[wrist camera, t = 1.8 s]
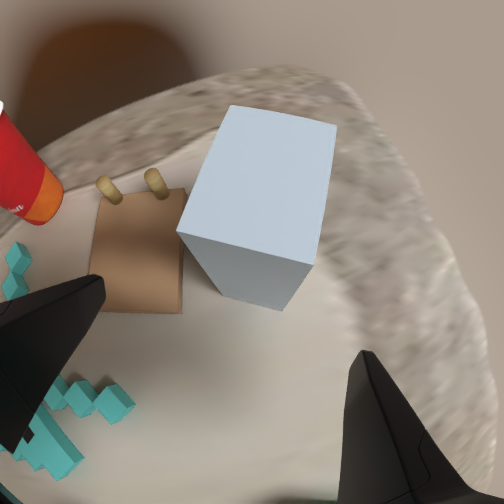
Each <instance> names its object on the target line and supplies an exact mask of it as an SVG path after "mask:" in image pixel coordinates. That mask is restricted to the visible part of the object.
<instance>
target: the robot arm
mask: <svg viewBox="0 0 504 504" xmlns="http://www.w3.org/2000/svg"><path fill="white" fill-rule="evenodd" d="M105 300H106V289H105V283H104V279H103V277H102V276H99V275H97V274H90V275H87V276H84V277H80V278H77V279H74V280H71V281H68V282H64V283H61V284H58V285H55V286H52V287H49V288H45V289H42V290H39V291H36V292H33V293H30V294H27V295H24V296H21V297H18V298H15V299H13V300H9V301H6V302H3V303H0V444H1V445H2V446H3V447H4V448H5V449H6V450H8V451H9V452H10V453H11V454H14V452H15V450H16V448H17V446H18V444H19V443H20V441H21V439H22V437H23V435H24V433H25V431H26V429H27V427H28V426H29V424H30V422H31V420H32V418H33V417H34V414H35V413H36V411H37V409H38V408H39V406H40V404H41V403H42V401H43V399H44V397H45V396H46V394H47V392H48V391H49V389H50V388H51V386H52V384H53V383H54V381H55V380H56V378H57V376H58V375H59V373H60V372H61V370H62V369H63V367H64V366H65V364H66V363H67V361H68V360H69V358H70V357H71V355H72V354H73V352H74V351H75V349H76V348H77V346H78V345H79V343H80V342H81V340H82V339H83V338H84V336H85V335H86V333H87V331H88V330H89V328H90V326H91V325H92V323H93V321H94V319H95V318H96V316H97V314H98V312H99V311H100V309H101V307H102V306H103V304H104V302H105ZM0 504H23V503H22V502H20V501H19V500H18V499H17V498H16V497H15V496H14V495H13V494H12V493H11V492H9V491H8V490H7V489H6V488H5V487H4V486H3V485H2V484H1V483H0ZM337 504H504V499H503V498H499V497H495V496H491V495H487V494H484V493H480V492H477V491H475V490H473V489H472V488H470V487H469V486H468V485H467V484H466V483H465V482H464V480H463V479H462V478H461V477H460V475H459V474H458V473H457V471H456V470H455V469H454V468H453V466H452V465H451V464H450V462H449V461H448V460H447V459H446V457H445V456H444V455H443V453H442V452H441V451H440V449H439V448H438V446H437V445H436V443H435V442H434V440H433V439H432V437H431V436H430V434H429V433H428V431H427V430H426V429H425V427H424V425H423V424H422V422H421V421H420V419H419V418H418V416H417V415H416V413H415V412H414V410H413V409H412V407H411V406H410V404H409V403H408V401H407V400H406V398H405V397H404V395H403V394H402V392H401V391H400V389H399V388H398V387H397V385H396V384H395V382H394V381H393V379H392V378H391V376H390V375H389V374H388V372H387V371H386V369H385V368H384V366H383V365H382V364H381V362H380V361H379V359H378V358H377V357H376V355H375V354H374V353H373V352H372V351H367V350H361V351H360V352H359V353H358V355H357V357H356V358H355V360H354V362H353V363H352V365H351V367H350V370H349V376H348V385H347V392H346V400H345V407H344V420H343V443H342V458H341V471H340V482H339V491H338V500H337Z"/></svg>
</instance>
